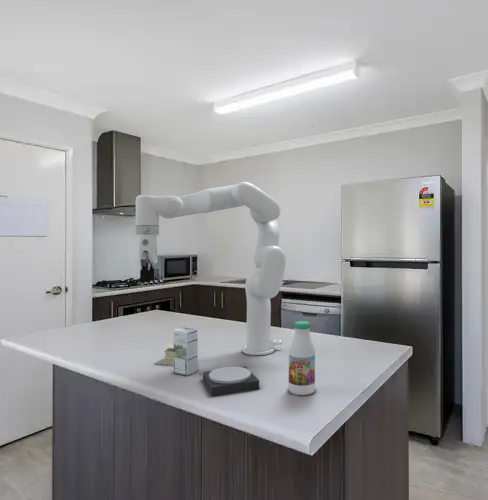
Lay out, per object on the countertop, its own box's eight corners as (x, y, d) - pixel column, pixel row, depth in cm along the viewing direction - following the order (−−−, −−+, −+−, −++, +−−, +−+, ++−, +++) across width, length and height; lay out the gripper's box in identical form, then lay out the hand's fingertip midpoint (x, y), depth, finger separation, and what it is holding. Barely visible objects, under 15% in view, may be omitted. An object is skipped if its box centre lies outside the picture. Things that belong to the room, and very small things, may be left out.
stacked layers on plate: (179, 365, 128) (179, 350, 128) (155, 364, 130) (156, 348, 130) (192, 357, 138) (192, 342, 138) (170, 355, 140) (171, 341, 139)
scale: (246, 373, 121) (247, 363, 121) (260, 388, 108) (260, 377, 108) (202, 379, 115) (202, 369, 115) (211, 396, 102) (211, 384, 102)
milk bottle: (287, 385, 111) (288, 319, 110) (313, 385, 111) (313, 319, 111) (289, 396, 103) (290, 325, 103) (316, 395, 104) (317, 325, 103)
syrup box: (198, 370, 123) (198, 327, 123) (186, 376, 118) (186, 331, 118) (185, 368, 126) (185, 325, 126) (172, 373, 120) (172, 329, 120)
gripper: (156, 230, 119) (156, 283, 119) (161, 232, 136) (161, 278, 136) (131, 230, 117) (131, 283, 117) (139, 232, 134) (139, 278, 134)
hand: (147, 280), depth 127 cm, fingers open, 9 cm apart
